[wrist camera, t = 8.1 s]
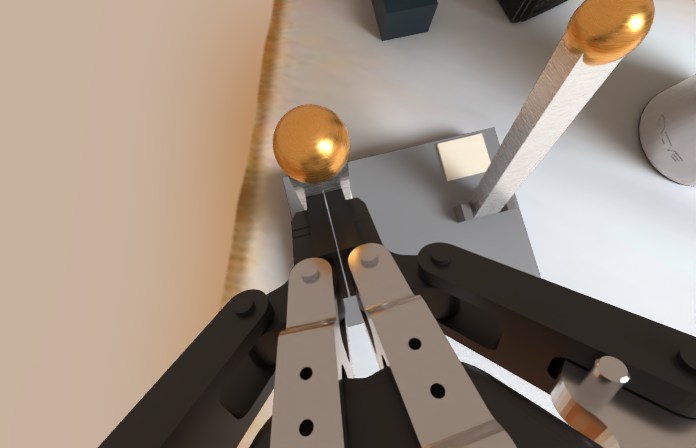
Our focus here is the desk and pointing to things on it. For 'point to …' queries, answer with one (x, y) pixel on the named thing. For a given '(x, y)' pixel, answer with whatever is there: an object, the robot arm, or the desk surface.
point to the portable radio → (527, 8)
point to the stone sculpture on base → (403, 17)
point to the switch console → (434, 203)
